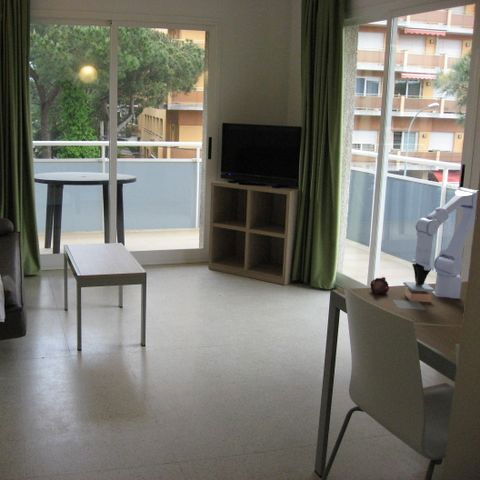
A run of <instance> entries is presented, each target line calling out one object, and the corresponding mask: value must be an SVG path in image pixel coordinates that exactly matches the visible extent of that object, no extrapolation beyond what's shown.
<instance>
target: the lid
mask: <svg viewBox="0 0 480 480" xmlns="http://www.w3.org/2000/svg"><path fill="white" fill-rule="evenodd" d="M403 285H404V286H405V287H406V288H409V289H410V290H412V291H428V292H432V291H435V288H433V287H432V286H431V285H429V284H427V283H426V282H424V284H423V285H418V283H417V279H416V282H415V281H403Z"/></svg>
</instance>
